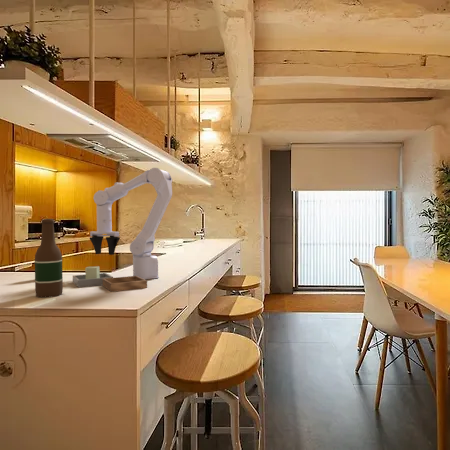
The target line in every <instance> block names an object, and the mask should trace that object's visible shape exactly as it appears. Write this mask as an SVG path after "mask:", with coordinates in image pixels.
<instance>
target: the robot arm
mask: <svg viewBox="0 0 450 450" xmlns="http://www.w3.org/2000/svg"><path fill="white" fill-rule="evenodd" d="M145 184H149V185H152V187H153V188H154V190H155V193H156V194H157V196H156V197H155V200H154V203H153V205H152V207H151V209H150V212H149V213H148V216H147V218H146V220H145V223H144V225H143V227H142V229H141V231H139V233H138V234H137V235H136V237H135V239H134V240H133V241H131V243H130V244H129V251H130V253H131V254H132V276H138V277H140V278H143V279H145V280H151V279H159V278H160V277H159V259H158V256H157V255H152V252H153V250H154V248H155V247H154V245H155V241H156V238H155V234H156V232H157V230H158V228H159V226H160V224H161V222H162V219H163V217H164V215H165V213H166V211H167V208H168V206H169V204H170V201H171V199H172V198H173V179H172V176H171V174H170V172H169V171H167V170H164V169H160V168H159V167H152V168H150V169H148V170H147V169H146V170H145V171H144V172H142V173H140V174H139V175H137V176H135V177H133V178H131V179H130V180H128V181H127V182H124V183H123V182H118V181H117V182H114V185H112V186H110V187H105V188H104V190H100V189H99V190H97V191H96V192H95V193H94V195H93V200H94V203H95V204H96V231H93V230H92V231H89V233H90V236H89V241H90V242H91V243H92V246H93V249H94V252H95V255H101V254H102V244H103V239H104V237H105V241H106V242H107V249H108V255H110V256H112V255H115V252H116V247H117V246H118V243H119V240H120V238H121V237H120V231H113V230H112V229H113V226H112V225H113V223H112V220H113V219H112V207H113V206H112V205H113V204H114V202H116V201H118V200H119V199H122V198H123V197H127V195H128V194H129V192H130V191H131V190H134V189H135V188H138V187H141V186H143V185H145Z"/></svg>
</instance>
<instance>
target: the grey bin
mask: <svg viewBox="0 0 450 450" xmlns="http://www.w3.org/2000/svg"><path fill="white" fill-rule="evenodd" d="M106 278H114V276H112V275H110V274H108V273H107V272H100V278H94V279H86V274H76V275H72V283H73V284H74V285H75V286H76V287H77V286H78V287H77V288H85V286H87V287H94V286H103V279H106Z"/></svg>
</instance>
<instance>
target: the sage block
mask: <svg viewBox="0 0 450 450" xmlns="http://www.w3.org/2000/svg"><path fill="white" fill-rule="evenodd" d="M100 273H101V271H100V266H99V265H97V266H96V265H95V266H86V267H85V275H86V279H94V278H100Z"/></svg>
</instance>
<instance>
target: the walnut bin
mask: <svg viewBox="0 0 450 450" xmlns="http://www.w3.org/2000/svg"><path fill="white" fill-rule="evenodd" d="M102 286H103V288H105V289H107V290H109V291H110V292H119V291H121V292H122V291H127V290H138V289H147V288H148V279H143V278H140V277H138V276H133V275H132V276H131V275H130V276H119V277H113V278H106V279H103V285H102Z"/></svg>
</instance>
